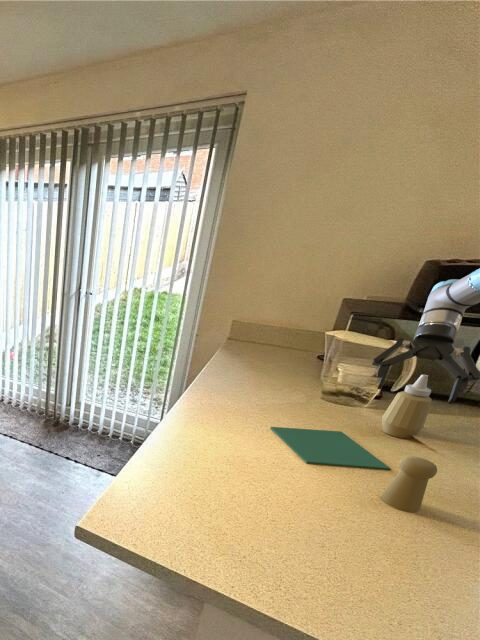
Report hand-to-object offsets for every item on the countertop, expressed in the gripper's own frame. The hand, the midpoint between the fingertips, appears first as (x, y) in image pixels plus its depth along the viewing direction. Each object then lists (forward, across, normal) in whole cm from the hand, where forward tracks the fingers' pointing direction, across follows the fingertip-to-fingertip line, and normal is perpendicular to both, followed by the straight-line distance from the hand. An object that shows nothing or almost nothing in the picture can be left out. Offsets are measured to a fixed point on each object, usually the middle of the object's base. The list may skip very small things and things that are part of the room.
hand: (414, 394), depth 108 cm
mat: (+26, +13, +9) cm, 31 cm away
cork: (+38, -1, +21) cm, 43 cm away
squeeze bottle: (+10, 0, -7) cm, 12 cm away
